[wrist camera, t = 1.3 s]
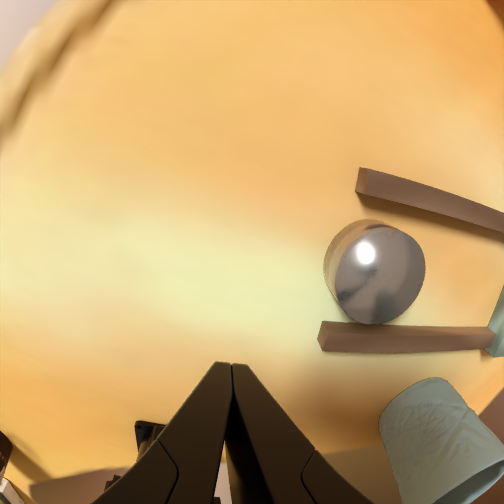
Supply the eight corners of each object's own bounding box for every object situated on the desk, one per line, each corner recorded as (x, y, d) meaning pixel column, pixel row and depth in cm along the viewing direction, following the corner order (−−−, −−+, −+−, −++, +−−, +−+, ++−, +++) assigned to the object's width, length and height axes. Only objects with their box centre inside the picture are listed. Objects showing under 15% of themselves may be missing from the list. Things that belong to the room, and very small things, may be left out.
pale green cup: (452, 411, 27) (500, 482, 15) (375, 453, 27) (409, 536, 16) (453, 353, 23) (525, 436, 12) (359, 405, 24) (407, 513, 13)
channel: (490, 343, 24) (503, 356, 21) (315, 344, 22) (324, 365, 19) (533, 220, 20) (551, 227, 18) (361, 159, 18) (378, 161, 15)
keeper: (388, 305, 21) (407, 326, 18) (313, 299, 21) (325, 321, 18) (412, 227, 19) (436, 238, 17) (334, 210, 19) (351, 221, 16)
